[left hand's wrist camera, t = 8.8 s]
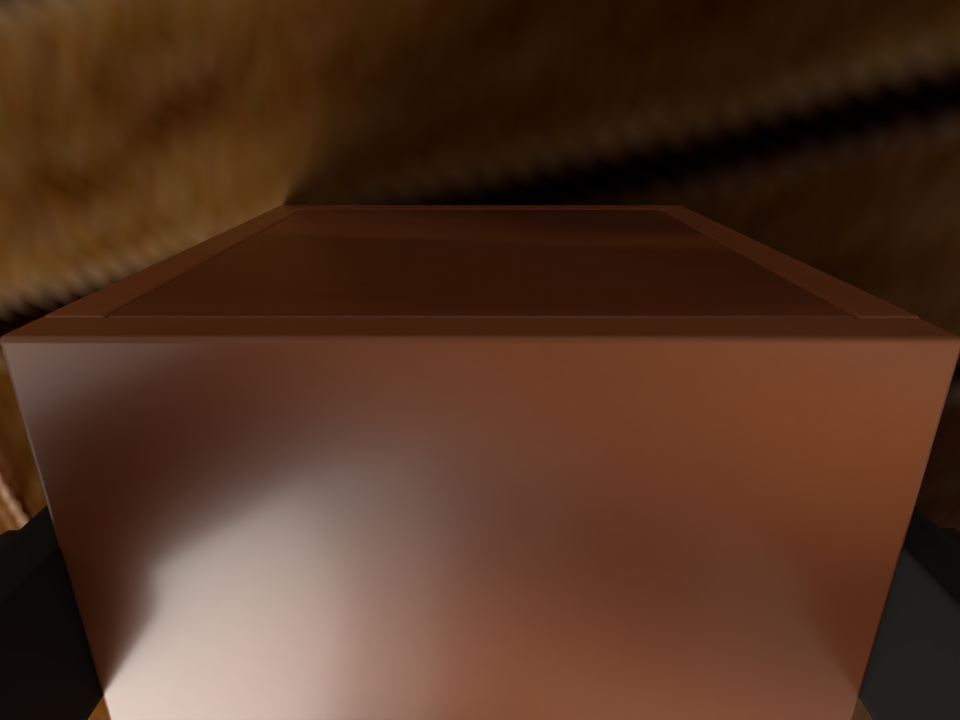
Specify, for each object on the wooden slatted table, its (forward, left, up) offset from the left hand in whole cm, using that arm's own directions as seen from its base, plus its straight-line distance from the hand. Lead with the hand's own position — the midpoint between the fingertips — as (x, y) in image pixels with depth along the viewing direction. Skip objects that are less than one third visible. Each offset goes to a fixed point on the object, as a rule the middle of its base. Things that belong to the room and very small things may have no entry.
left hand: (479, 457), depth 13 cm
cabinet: (+1, +5, -6) cm, 8 cm away
